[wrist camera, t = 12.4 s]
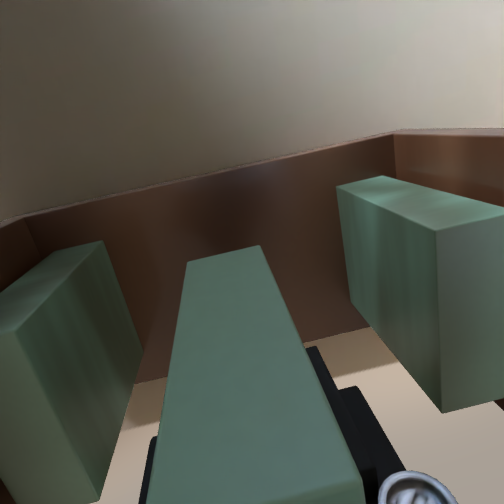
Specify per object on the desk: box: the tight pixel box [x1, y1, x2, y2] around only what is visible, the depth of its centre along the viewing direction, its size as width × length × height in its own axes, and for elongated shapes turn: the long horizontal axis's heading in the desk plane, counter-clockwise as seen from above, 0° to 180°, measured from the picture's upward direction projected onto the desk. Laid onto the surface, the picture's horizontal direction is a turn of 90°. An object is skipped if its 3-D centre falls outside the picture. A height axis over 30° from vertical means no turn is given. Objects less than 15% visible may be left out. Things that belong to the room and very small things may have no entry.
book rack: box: [0, 128, 504, 504], centre depth 16 cm, size 21×11×11 cm, turn 102°
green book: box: [146, 245, 366, 504], centre depth 9 cm, size 3×7×9 cm, turn 12°
